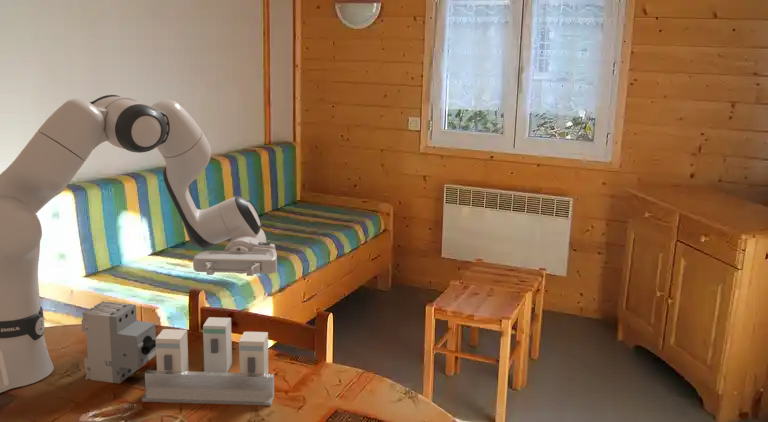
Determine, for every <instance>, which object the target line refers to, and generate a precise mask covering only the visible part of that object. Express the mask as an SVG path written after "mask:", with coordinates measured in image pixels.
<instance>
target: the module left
mask: <svg viewBox="0 0 768 422" xmlns="http://www.w3.org/2000/svg"><path fill="white" fill-rule="evenodd" d="M188 343H189V341H188V329H173V328H172V329H171V328H169V329H168V328H163V329H162V330H160V333H159V334H158V335H156V358H155V359H156V370H159V371H190V370H189V348H188V347H189V345H188Z"/></svg>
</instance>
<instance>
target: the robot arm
mask: <svg viewBox="0 0 768 422" xmlns="http://www.w3.org/2000/svg"><path fill="white" fill-rule="evenodd" d="M104 142H108V143H109V144H110V145H112V146H114V147H117V148H120V149H123V150H126V151H128V152H131V153H140V154H141V153H142V154H143V153H147V152H150V151H153V150H155V149H157V150H158V152H159V153H160V155H161V156H162V157H163V159H164V161H165V165H166V166H165V167H164V169H163V172H162V177H163V182H164V185H165V187H166V190H167V192H168V195H169V197H170V198H171V201H172V203H173V205H174V206H175V209H176V211H177V212H178V214H179V216H180V220H181V221H182V223H183V226H184V229H185V231H186V235H187V237H188V239H189V240H190V243H191V244H192V245H193V246H195V247H197V248H199V249H203V250H204V251H203V250H202V251H201V252H199V253H197V254H195V256H194V257H193V260H192V263H193V264H192V268H193V271H194V272H197V273H206V275H207V276H213V275H214V274H215V273H224V274H225V273H228V274H230V273H233V274H241V275H242V274H244V275H245V274H246V276H247V277H248V276H250V277H253V276H254V275H256V274H270V275H271V274H275V273H277V271H278V254H277V251H276V250H277V249H276V246H275V245H276V244H275V243H270V242H267V236H266V233H265V231H264V230H263V229H262V228H261V227H262V219H261V217H260V214H259V212H258V210H257V208H256V207H255V205H254V204H253V203H252V202H251V201H250V200H248V199H247V198H245V197H242V196H241V195H236V196H233V197H231V198H228V199H225V200H223V201H220V202H219V203H216V204H214V205H212V206H209V207H207V208H204V209H199V208H197V206H196V204H195V202H194V200H193V198H192V196H191V194H190V192H189V189H188V188H189V186H190V185H191V184H192V183H193V182H194V181H195V180H196V179H197V178H198V177H199V176H200V175H202V173H203V172H204V171H205V169H206V168H207V166H208V165H209V162H210V160H211V155H212V147H211V145H210V142H209V140H208V138H207V136H206V135H205V134H204V132H203V130H202V129H201V127H200V126H199V125H198V123H197V122H196V120H195V119H194V118H193V117H192V116H191V114H190V113H189V112H188V110H186V109H185V108H184V107H183V106H182V105H181V104H180V103H178V102H177V101H175V100H173V99H163V100H160V101H157V102H155V103H153V104H152V105H151V106H150V105H147V104H144V103H141V102H139V101H137V100H135V99H132V98H131V97H130V98H129V97H125V96H120V95H117V94H108V95H107V94H106V95H103V96H100V97H98V98H96V99H95V100H92V101H90V102H89V101H87V100H84V99H81V98H72V99H69V100H67V101H65V102H64V103H63V104H61V105H60V106H59V107H58V108H57V109H56V110H55V111H54V112H53V113H52V114H51V115H50V116H49V117H48V118H47V119H46V120H45V121H44V123H42V124H41V126H39V128H38V129H37V131H36V132H35V134H34V135H33V136H32V138H31V139H30V140H29V141H28V143H27V144H26V145H25V146H24V147H23V149H22V150H21V151H20V152H19V154H18V155H17V156H16V158H15V159H14V160H13V161H12V162H11V163H10V165H9V166H8V167H6V169H4V170H3V171H2V172H1V173H0V394H1V393H3V392H6V391H9V390H11V389H15V388H19V387H25V386H28V385H31V384H34V383H37V382H39V381H41V380H44V379H45V378H46V377H48V376H50V375H51V374H52V372H53V371H54V368H55V366H54V363H53V362H52V359H51V357H50V354H49V350H48V347H47V343H46V340H45V339H46V338H45V318H44V308H43V307H42V306H41V301H40V300H41V299H40V287H39V286H40V285H39V261H40V250H41V249H40V248H41V240H42V236H43V230H42V229H43V228H42V225H41V222H40V219H39V216H38V215H37V213H38V212H39V211H40V210H41V209H43V208H44V206H45V205H47V204H48V203H49V202H50V201H51V200H53V199H54V198H55V197H57V196H58V195H60V194H61V193H63V191H64V190H65V189H66V188H67V187H68V185H69V184H70V183H71V181H72V180H73V178H75V176H76V174H77V173H78V172H79V171H80V169H81V168H82V166H83V165H84V164H85V162H86V161H87V159H88V158H89V156H90V155H91V153H92V152H93V150H95V149H96V147H98V146H100V145H101V144H103V143H104ZM227 240H230V241H229V243H227V245H226V246H225V248H224V250H209V249H211V248H213V247H215V246H217V245H218V244H221V243H223V242H225V241H227Z"/></svg>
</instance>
